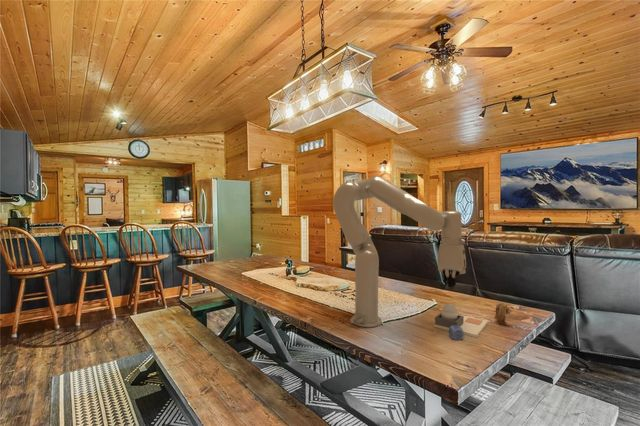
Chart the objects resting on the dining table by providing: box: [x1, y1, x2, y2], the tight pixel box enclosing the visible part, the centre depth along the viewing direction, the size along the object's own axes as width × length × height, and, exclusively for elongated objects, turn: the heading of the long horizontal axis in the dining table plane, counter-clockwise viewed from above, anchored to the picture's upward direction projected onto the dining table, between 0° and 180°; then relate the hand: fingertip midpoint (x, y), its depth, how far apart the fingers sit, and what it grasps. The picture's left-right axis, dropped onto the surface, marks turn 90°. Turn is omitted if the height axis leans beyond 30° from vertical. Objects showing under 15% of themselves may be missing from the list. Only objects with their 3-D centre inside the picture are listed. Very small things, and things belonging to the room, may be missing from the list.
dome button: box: [441, 302, 458, 321], centre depth 132 cm, size 6×6×6 cm
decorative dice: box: [448, 326, 465, 341], centre depth 122 cm, size 4×4×4 cm
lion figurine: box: [493, 302, 512, 325], centre depth 139 cm, size 15×5×9 cm, turn 163°
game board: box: [434, 311, 489, 338], centre depth 134 cm, size 18×16×4 cm
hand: (451, 286), depth 132 cm, fingers closed
